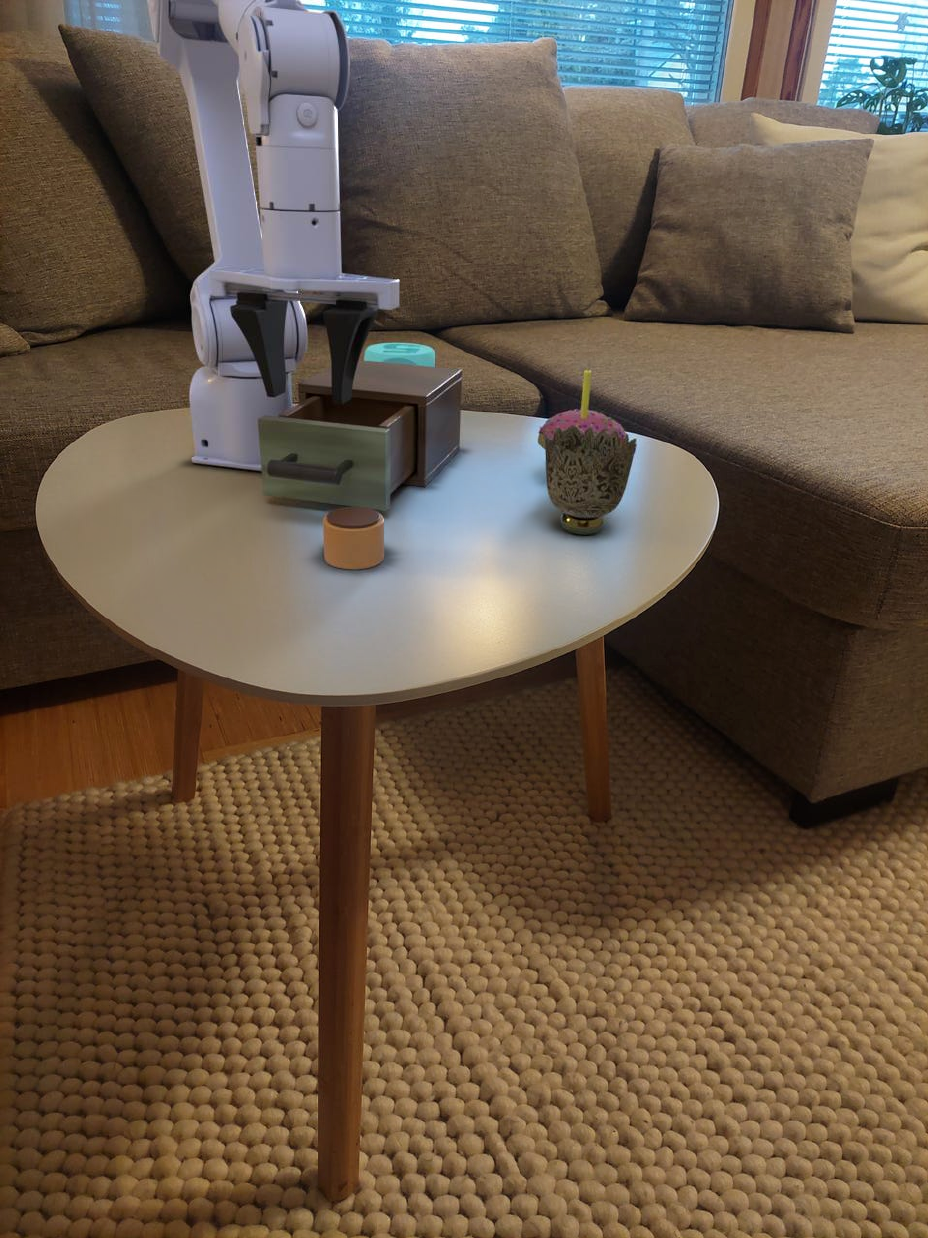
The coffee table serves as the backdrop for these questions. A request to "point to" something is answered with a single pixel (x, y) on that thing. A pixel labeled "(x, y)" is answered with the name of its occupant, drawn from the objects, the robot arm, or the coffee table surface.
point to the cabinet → (414, 386)
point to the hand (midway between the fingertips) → (308, 397)
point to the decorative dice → (401, 354)
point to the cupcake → (581, 418)
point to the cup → (587, 475)
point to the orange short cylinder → (353, 538)
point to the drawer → (339, 451)
